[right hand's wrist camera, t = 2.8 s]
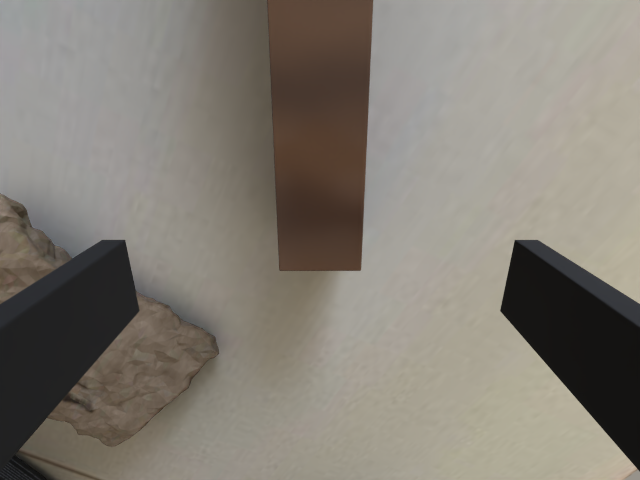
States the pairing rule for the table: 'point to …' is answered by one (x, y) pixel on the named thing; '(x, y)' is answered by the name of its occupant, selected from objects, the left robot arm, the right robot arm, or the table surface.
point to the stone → (123, 353)
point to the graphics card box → (19, 471)
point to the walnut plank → (320, 129)
